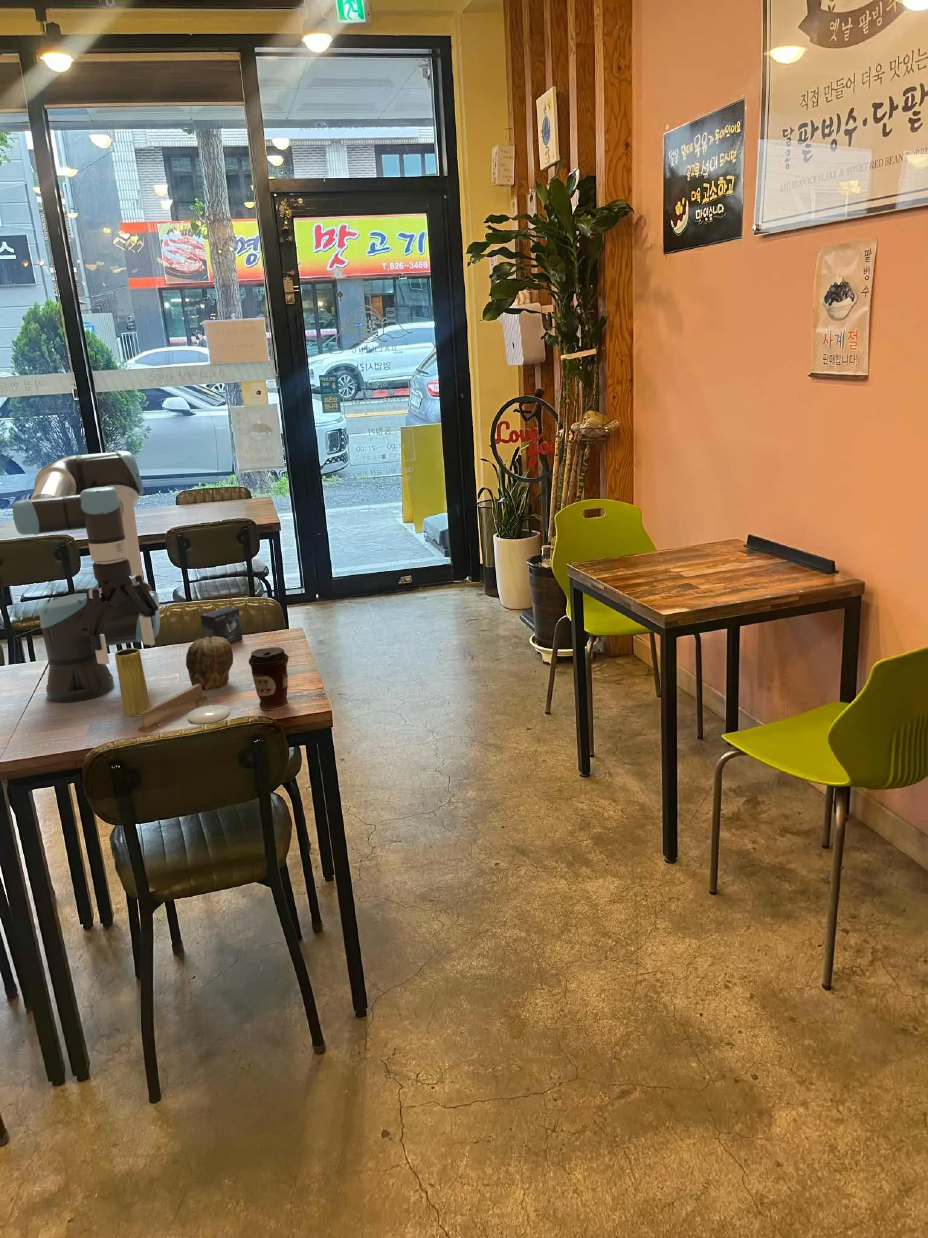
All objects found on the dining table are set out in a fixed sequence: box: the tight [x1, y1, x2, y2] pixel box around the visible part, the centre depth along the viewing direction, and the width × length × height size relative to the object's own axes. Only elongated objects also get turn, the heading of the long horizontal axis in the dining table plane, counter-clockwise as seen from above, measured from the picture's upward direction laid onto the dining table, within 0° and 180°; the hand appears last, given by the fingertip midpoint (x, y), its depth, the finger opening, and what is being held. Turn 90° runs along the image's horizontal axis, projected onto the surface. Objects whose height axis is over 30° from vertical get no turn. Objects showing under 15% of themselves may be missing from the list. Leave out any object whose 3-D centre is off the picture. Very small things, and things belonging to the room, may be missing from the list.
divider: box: [137, 684, 209, 733], centre depth 199 cm, size 3×19×4 cm, turn 155°
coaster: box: [186, 704, 230, 725], centre depth 198 cm, size 9×9×1 cm
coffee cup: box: [248, 646, 290, 711], centre depth 199 cm, size 9×8×13 cm
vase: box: [114, 647, 152, 717], centre depth 201 cm, size 6×6×14 cm
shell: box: [185, 636, 234, 692], centre depth 215 cm, size 11×11×12 cm
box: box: [199, 606, 243, 646], centre depth 246 cm, size 9×6×10 cm, turn 147°
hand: (127, 653), depth 198 cm, fingers open, 13 cm apart
